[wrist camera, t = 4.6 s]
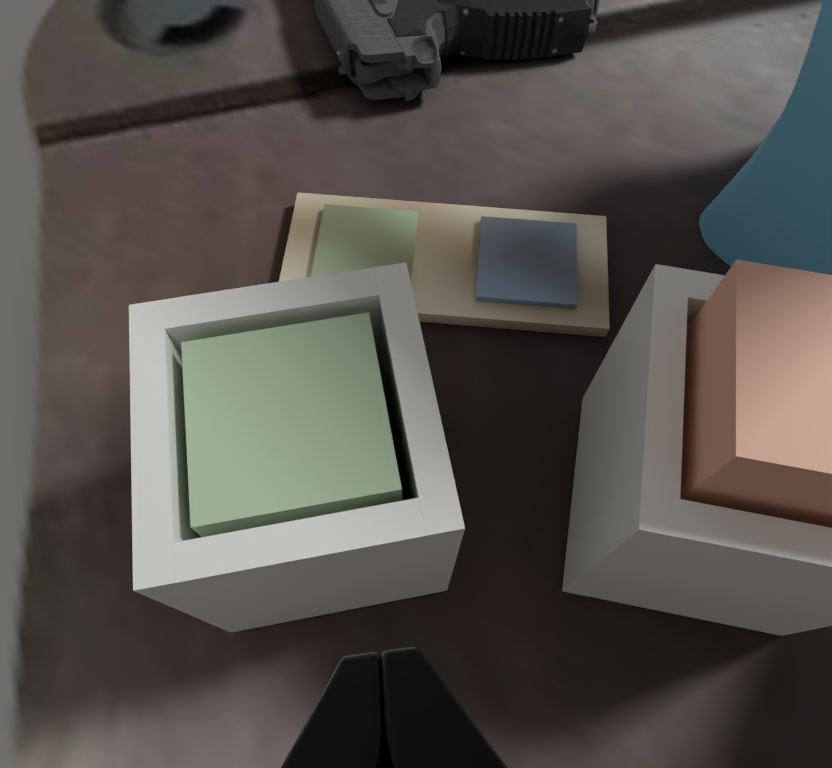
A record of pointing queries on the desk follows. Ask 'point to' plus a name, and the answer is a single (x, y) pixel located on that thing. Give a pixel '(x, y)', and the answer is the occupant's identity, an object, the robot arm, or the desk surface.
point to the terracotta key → (761, 395)
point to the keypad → (435, 486)
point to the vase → (785, 178)
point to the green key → (286, 425)
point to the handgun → (445, 36)
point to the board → (464, 259)
